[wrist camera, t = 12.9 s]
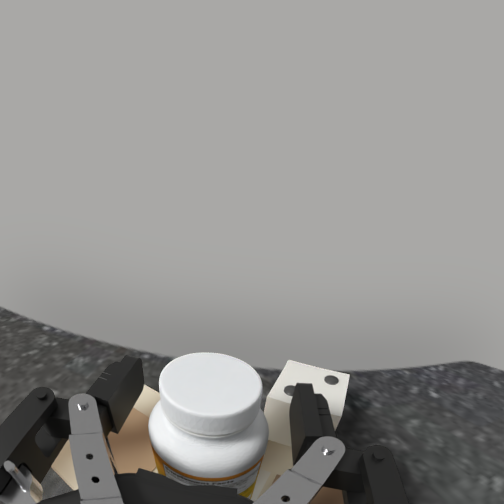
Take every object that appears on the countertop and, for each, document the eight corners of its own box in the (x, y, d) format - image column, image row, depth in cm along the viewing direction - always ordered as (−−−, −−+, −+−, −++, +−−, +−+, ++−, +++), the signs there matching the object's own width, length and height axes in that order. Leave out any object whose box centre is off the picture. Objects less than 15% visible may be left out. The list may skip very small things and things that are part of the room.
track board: (373, 468, 14) (377, 463, 14) (337, 604, 3) (342, 604, 3) (140, 386, 21) (140, 381, 21) (40, 454, 10) (36, 449, 10)
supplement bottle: (182, 447, 15) (176, 332, 13) (259, 468, 14) (287, 357, 12) (149, 503, 10) (112, 396, 8) (240, 532, 9) (269, 447, 7)
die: (332, 417, 20) (349, 373, 19) (320, 459, 15) (342, 415, 14) (278, 403, 22) (289, 358, 21) (257, 440, 17) (267, 395, 16)
